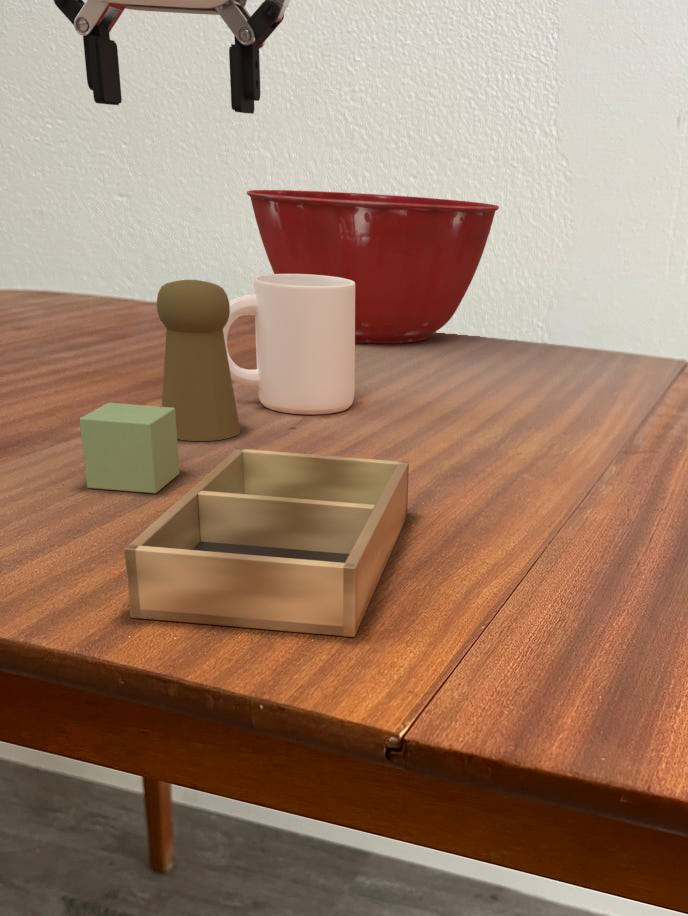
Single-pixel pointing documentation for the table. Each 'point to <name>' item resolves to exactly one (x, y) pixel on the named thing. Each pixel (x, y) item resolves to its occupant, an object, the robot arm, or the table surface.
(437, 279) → the mixing bowl
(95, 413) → the green block
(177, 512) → the tray
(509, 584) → the table surface
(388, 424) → the table surface
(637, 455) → the table surface
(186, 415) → the olive pawn
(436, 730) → the table surface
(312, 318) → the mug
